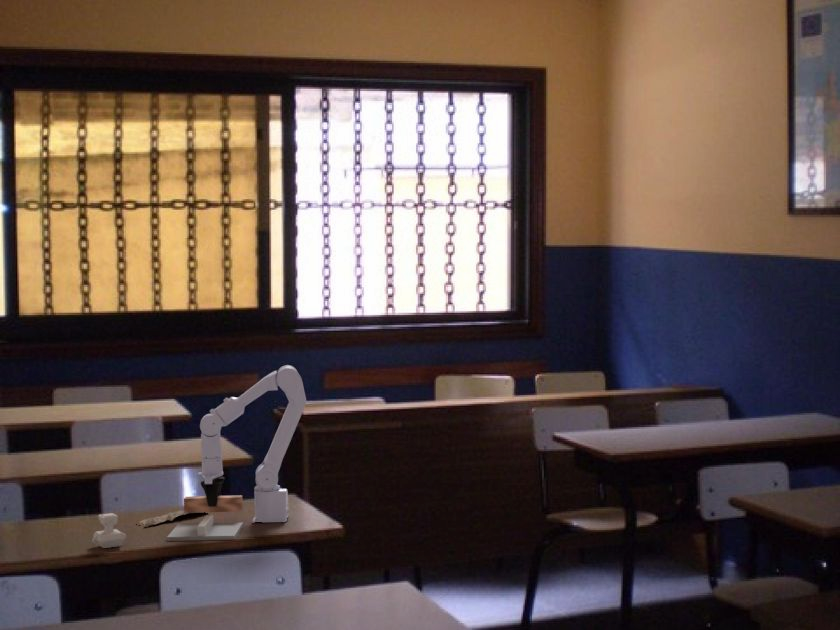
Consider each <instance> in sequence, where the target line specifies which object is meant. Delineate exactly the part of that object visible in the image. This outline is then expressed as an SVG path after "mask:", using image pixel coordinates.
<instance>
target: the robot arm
mask: <svg viewBox="0 0 840 630" xmlns="http://www.w3.org/2000/svg"><path fill="white" fill-rule="evenodd" d="M278 387H279V388H280V389H281V390H282V391H283V392H284V394H285V396H286V398H287V400H288V403H287V406H286V408H285V411H284V413H283V416H282V418H281V420H280V423H279V425H278V428H277V430H276V432H275V434H274V437H273V439H272V442H271V444H270V447H269V449H268V451H267V453H266V455H265V457H264V460H263V461H262V463H261V464H259V465H258V466H257V468H256V469H255V484H256V485H255V486H254V488H253V490H254V491H253V494H254V517H253V519H252V520H251V521H252V522H251V523H252V524H253V523H254V524H255V522H262V523H285V522H287V521H288V519H289V517H288V516H290V515H289V514H290V510H289V492H288V489H287V488H282V487H281V485H279V484H278V482H279V471H280V468H281V466H282V462H283V459H284V457H285V455H286V452H287V450H288V448H289V446H290V443H291V440H292V438H293V435H294V433H295V431H296V428H297V426H298V425H299V424H298V423H299V421H300V419H301V417H302V415H303V412H304V410H305V407H306V405H307V397H306V392H305V389H304V388H305V387H304V383H303V380H302V376H301V375H300V374H299V372H298V370H297V369H296V368H295V367H294V366H293V365H289V364H286V365H283V366H281V367H279V369H278V370H274V371H272V372H270V373H268V374H267V375H266V376H264V377H263V378H261V379H260V380H259V381H258V382H256V383H255V384H254V385H253V386H251V387H250V388H248V389H247V390H246V391H244V393H242V394H241V395H239V396H238V397H235V396H230V397H229V398H228V397H225V398H224V399H223V403H221V404H219V405H218V406H217V407H216V408H211V409H210V410H209V413H207V414H205V415H204V416H203V417H202V418H201V420H200V423H199V429H200V431H201V434H200V439H201V441H200V451H201V452H200V454H201V456H200V457H201V471H199V472H197V476H198V477H202V478H203V480H202V481H200V485H201V488H202V489H203V492H204V495H205V496H206V498H207V502H208V506H209V507H210V506H216V505H217V500H218V496H221V491H222V486H223V483H224V481H225V479H226V478H225V477H224V476H223V475H224V471H223V470H224V469H223V467H224V466H223V450H222V449H223V446H222V445H223V444H222V439H221V430H222V427H227V426H228V425H230V424H231V423H232V422H233V421H235V420H236V419H238V418H239V417H240V416H242V415H244V413H245V407H246V406H248V405H249V404H250V403H252V402H253V401H255V400H257V399H258V398H259V397H261V396H262V395H264V394H265V393H267V392H269V391H278V390H279V389H278ZM287 518H288V519H287Z"/></svg>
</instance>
